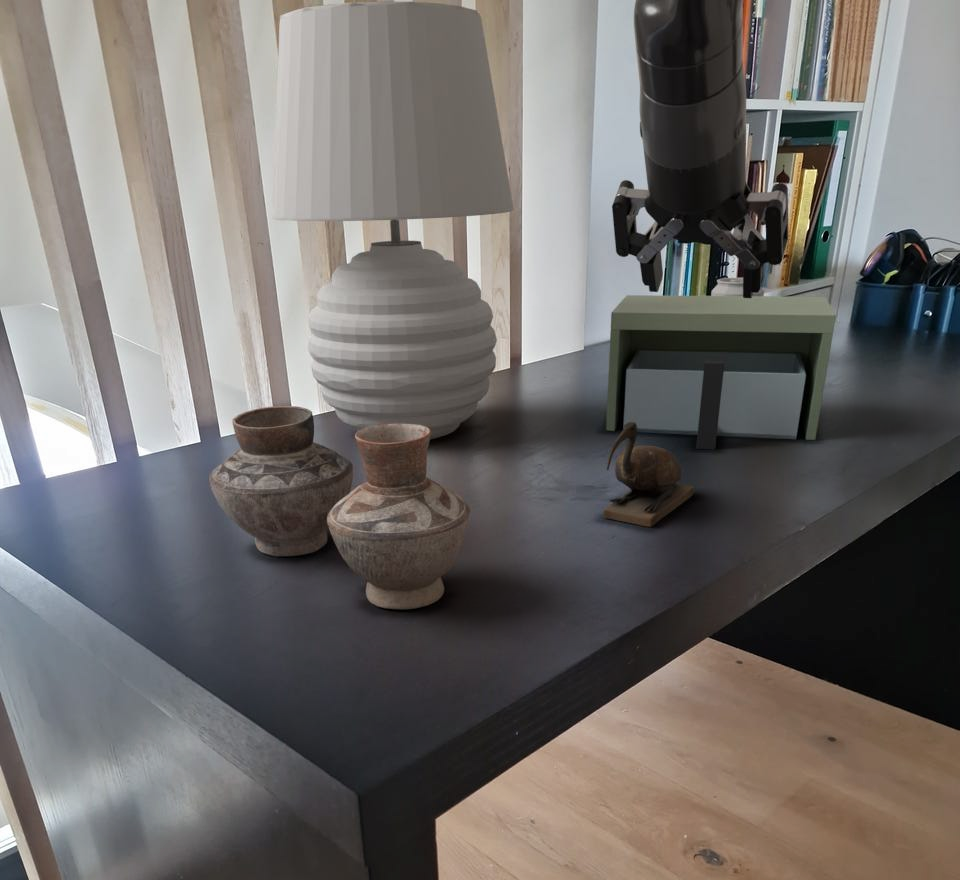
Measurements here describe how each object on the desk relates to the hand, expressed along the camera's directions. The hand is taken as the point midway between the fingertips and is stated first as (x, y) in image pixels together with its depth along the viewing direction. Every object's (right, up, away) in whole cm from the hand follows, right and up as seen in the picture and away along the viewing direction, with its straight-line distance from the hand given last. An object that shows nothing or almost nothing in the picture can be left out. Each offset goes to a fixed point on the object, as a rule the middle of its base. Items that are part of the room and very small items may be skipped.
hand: (702, 287), depth 78 cm
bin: (+6, -7, +21) cm, 23 cm away
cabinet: (+7, -6, +25) cm, 26 cm away
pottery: (-31, -26, -11) cm, 42 cm away
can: (+18, +10, +53) cm, 57 cm away
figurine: (-6, -21, -2) cm, 22 cm away
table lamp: (-29, -7, +24) cm, 38 cm away
